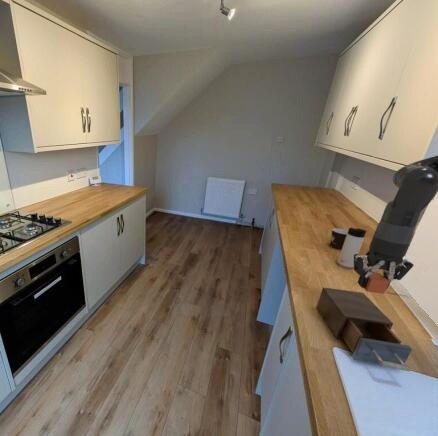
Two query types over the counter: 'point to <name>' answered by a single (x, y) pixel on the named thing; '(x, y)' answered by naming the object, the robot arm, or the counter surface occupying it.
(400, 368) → the drawer
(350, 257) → the travel mug
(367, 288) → the block
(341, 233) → the coffee mug
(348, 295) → the cabinet
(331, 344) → the counter surface
